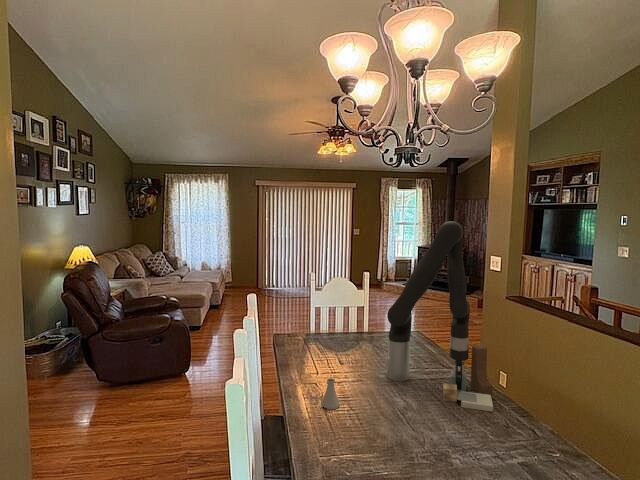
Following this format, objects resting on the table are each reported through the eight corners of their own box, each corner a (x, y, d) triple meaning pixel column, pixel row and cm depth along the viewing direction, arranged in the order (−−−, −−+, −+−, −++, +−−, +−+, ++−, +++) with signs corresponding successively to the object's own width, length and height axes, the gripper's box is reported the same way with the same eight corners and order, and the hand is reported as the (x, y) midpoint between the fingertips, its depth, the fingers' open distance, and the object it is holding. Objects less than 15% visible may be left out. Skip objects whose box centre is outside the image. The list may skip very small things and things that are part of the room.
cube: (450, 390, 165) (450, 376, 164) (450, 384, 170) (450, 371, 170) (465, 392, 163) (466, 378, 162) (465, 386, 168) (465, 372, 168)
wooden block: (492, 396, 160) (493, 351, 159) (481, 396, 159) (483, 352, 158) (480, 386, 169) (481, 344, 167) (470, 387, 168) (471, 345, 167)
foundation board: (456, 406, 151) (456, 401, 151) (456, 395, 160) (456, 390, 160) (492, 411, 147) (493, 406, 147) (490, 399, 156) (490, 394, 156)
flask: (342, 403, 153) (342, 377, 152) (336, 411, 146) (337, 385, 146) (324, 400, 155) (324, 375, 155) (318, 408, 149) (318, 382, 148)
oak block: (443, 400, 156) (443, 388, 155) (443, 395, 160) (443, 383, 160) (456, 402, 154) (456, 390, 154) (456, 397, 159) (456, 384, 158)
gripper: (449, 340, 173) (449, 377, 174) (449, 351, 160) (448, 391, 161) (468, 342, 171) (467, 379, 172) (469, 353, 158) (468, 393, 158)
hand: (458, 385), depth 166 cm, fingers open, 7 cm apart
